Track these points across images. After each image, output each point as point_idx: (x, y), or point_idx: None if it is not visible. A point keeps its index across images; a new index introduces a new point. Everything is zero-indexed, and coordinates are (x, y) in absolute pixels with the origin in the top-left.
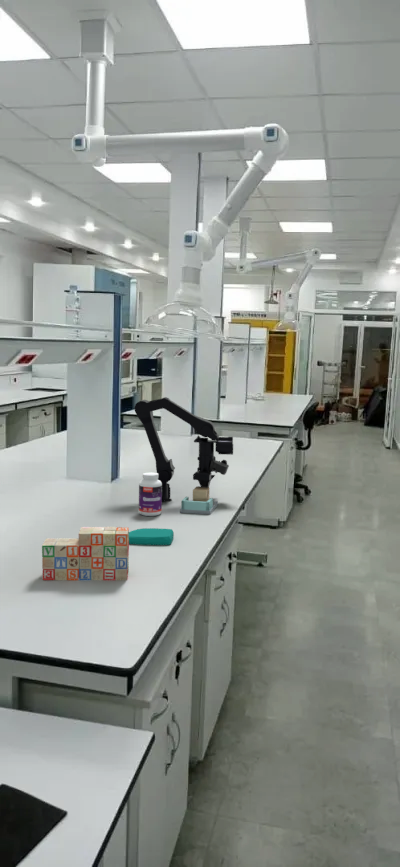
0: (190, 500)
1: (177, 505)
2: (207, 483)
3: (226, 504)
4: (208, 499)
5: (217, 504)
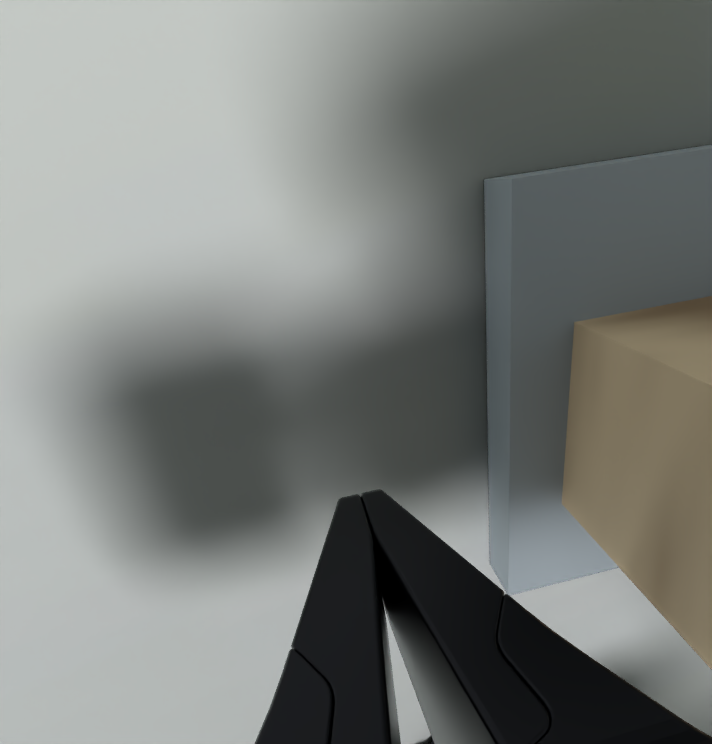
0: (550, 568)
1: (627, 598)
2: (619, 709)
3: (423, 5)
4: (682, 326)
5: (537, 171)
